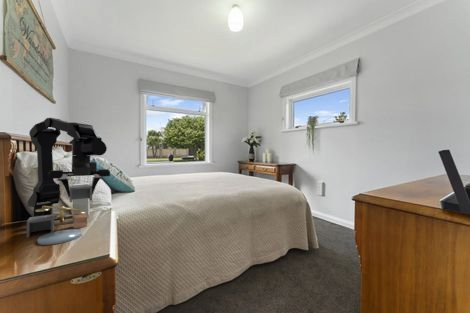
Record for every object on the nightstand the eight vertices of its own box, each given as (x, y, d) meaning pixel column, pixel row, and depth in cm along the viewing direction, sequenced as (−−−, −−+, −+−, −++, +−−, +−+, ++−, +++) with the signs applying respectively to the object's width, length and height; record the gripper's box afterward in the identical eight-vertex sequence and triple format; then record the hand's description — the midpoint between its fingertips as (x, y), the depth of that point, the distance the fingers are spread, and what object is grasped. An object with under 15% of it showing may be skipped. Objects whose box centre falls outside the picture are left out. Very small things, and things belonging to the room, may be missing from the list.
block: (73, 226, 79) (73, 215, 79) (86, 224, 82) (86, 214, 82) (73, 228, 76) (73, 218, 76) (86, 226, 79) (87, 216, 79)
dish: (53, 233, 71) (53, 230, 71) (88, 231, 73) (88, 228, 73) (27, 246, 61) (27, 242, 61) (69, 243, 63) (69, 240, 63)
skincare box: (88, 217, 91) (89, 184, 92) (71, 219, 88) (72, 184, 88) (89, 213, 98) (90, 182, 99) (73, 214, 95) (74, 183, 95)
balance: (34, 228, 76) (34, 207, 76) (35, 225, 80) (36, 205, 80) (86, 220, 86) (86, 202, 86) (85, 218, 90) (85, 200, 90)
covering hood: (69, 199, 80) (69, 186, 80) (90, 197, 84) (90, 185, 84) (69, 202, 74) (70, 188, 75) (91, 200, 79) (92, 186, 79)
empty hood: (29, 232, 72) (29, 217, 72) (54, 228, 77) (54, 214, 77) (26, 237, 67) (26, 221, 67) (53, 233, 72) (53, 218, 72)
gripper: (47, 154, 67) (46, 202, 67) (112, 155, 79) (112, 196, 79) (49, 155, 76) (48, 197, 76) (108, 156, 88) (107, 192, 87)
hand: (80, 195), depth 79 cm, fingers closed on covering hood, 7 cm apart
